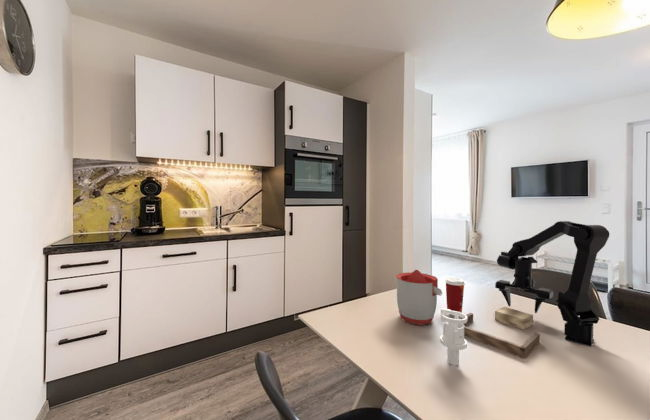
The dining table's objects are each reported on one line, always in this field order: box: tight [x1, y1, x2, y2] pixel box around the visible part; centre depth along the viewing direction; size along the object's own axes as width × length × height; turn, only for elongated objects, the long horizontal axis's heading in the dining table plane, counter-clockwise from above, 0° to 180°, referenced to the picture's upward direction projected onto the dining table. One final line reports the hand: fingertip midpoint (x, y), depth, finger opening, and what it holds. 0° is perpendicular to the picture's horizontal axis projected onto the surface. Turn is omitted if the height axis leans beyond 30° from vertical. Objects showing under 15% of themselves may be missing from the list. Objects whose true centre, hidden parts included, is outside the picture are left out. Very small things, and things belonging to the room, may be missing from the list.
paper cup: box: [444, 277, 466, 313], centre depth 116 cm, size 8×8×14 cm
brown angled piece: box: [459, 312, 541, 360], centre depth 95 cm, size 22×15×3 cm
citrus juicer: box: [396, 269, 443, 326], centre depth 108 cm, size 16×17×20 cm
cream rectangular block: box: [494, 306, 534, 330], centre depth 107 cm, size 10×8×4 cm
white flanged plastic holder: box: [439, 307, 468, 366], centre depth 79 cm, size 7×7×15 cm
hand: (522, 309), depth 113 cm, fingers open, 9 cm apart
